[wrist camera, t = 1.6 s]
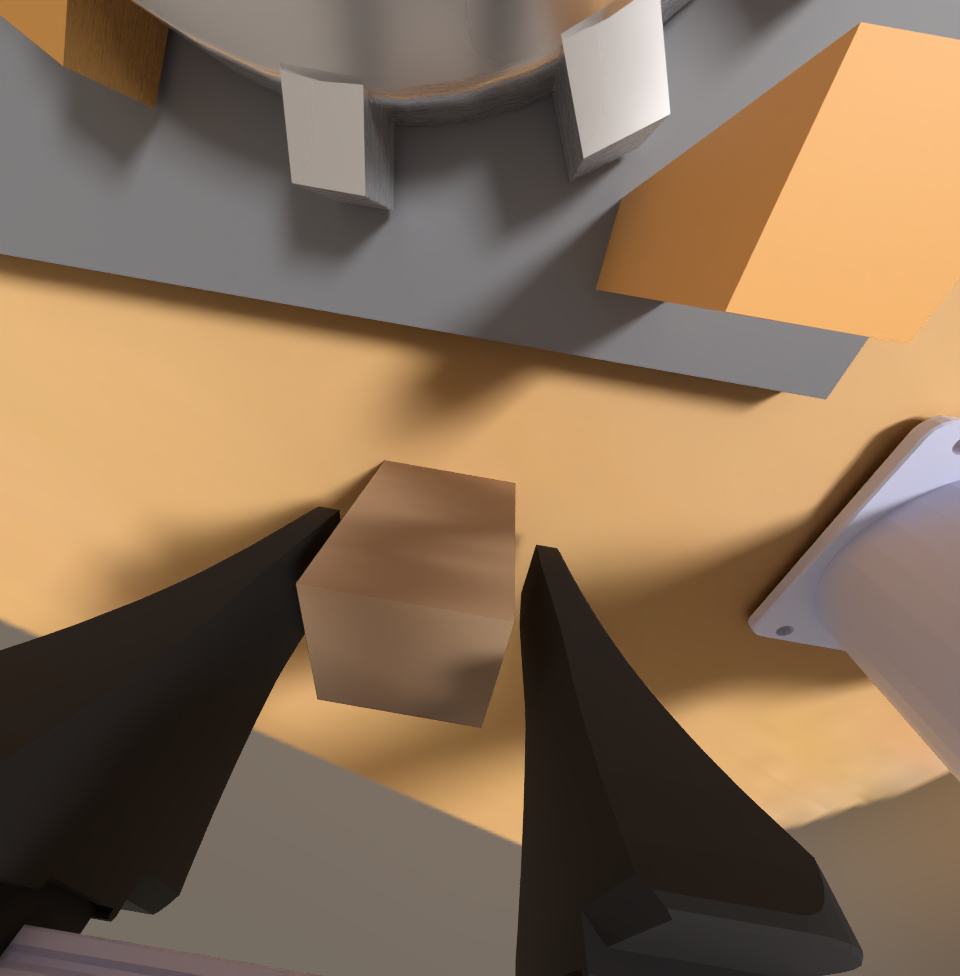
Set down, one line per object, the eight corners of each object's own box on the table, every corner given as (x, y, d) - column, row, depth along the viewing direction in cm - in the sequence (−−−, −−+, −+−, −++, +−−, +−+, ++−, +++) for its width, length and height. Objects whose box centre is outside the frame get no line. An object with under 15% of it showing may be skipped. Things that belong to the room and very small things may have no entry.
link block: (515, 482, 11) (514, 621, 6) (493, 575, 13) (481, 728, 8) (385, 459, 11) (295, 584, 6) (384, 556, 13) (317, 699, 8)
